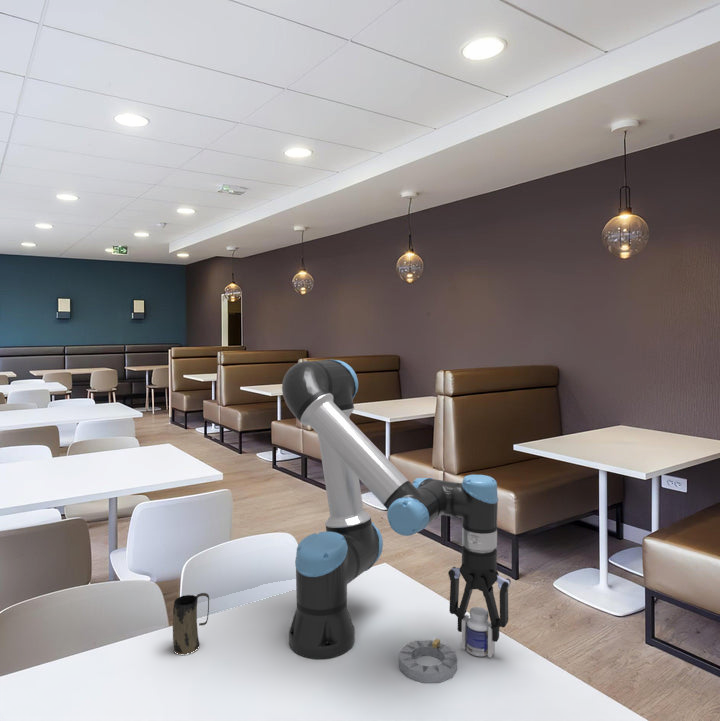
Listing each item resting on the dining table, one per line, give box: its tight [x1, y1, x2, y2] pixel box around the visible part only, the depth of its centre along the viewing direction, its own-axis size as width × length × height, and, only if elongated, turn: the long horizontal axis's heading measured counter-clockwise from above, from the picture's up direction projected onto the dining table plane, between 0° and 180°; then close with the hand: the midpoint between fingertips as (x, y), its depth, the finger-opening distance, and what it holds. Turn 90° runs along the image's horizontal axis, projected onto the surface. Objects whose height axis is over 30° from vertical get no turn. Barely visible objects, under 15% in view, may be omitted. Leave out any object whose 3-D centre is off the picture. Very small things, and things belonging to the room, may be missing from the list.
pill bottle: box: [465, 606, 491, 657], centre depth 122 cm, size 5×5×9 cm
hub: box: [398, 638, 458, 684], centre depth 117 cm, size 12×12×3 cm
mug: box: [172, 592, 210, 654], centre depth 123 cm, size 8×6×12 cm
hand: (477, 649), depth 121 cm, fingers closed on pill bottle, 5 cm apart
